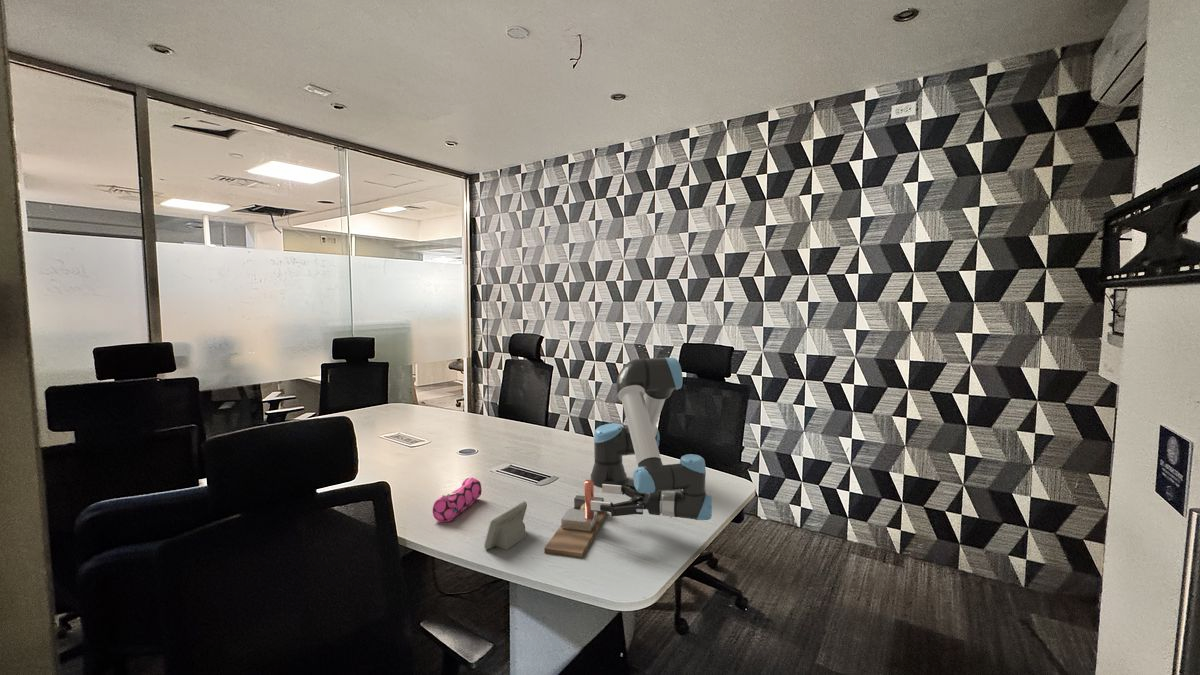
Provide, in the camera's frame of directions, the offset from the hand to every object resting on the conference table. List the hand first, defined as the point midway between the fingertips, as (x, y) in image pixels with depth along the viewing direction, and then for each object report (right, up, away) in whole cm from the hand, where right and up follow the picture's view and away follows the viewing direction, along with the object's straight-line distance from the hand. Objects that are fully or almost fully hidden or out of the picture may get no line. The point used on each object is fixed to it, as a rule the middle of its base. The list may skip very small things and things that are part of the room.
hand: (596, 496), depth 156 cm
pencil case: (-50, -12, +19) cm, 55 cm away
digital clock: (-29, -13, -3) cm, 32 cm away
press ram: (-6, -10, +3) cm, 12 cm away
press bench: (-6, -12, +2) cm, 14 cm away
